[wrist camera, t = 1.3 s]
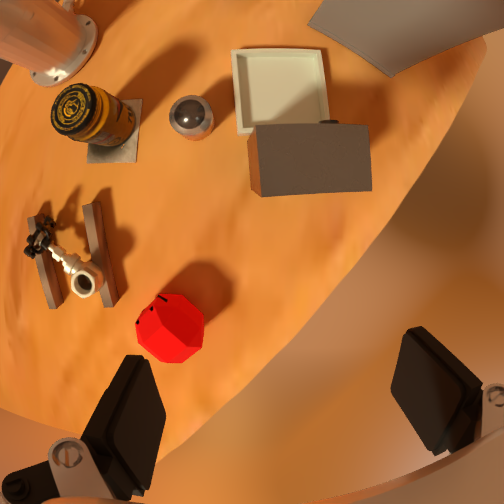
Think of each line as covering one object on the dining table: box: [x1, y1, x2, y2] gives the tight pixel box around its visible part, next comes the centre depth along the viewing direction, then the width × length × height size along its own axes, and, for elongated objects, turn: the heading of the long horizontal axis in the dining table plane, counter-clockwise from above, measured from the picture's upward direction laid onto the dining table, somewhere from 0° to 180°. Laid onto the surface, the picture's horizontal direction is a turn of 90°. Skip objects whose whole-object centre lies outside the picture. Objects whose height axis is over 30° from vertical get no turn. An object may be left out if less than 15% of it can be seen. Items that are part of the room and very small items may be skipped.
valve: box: [24, 215, 104, 299], centre depth 32 cm, size 7×7×12 cm
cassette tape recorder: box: [308, 0, 504, 78], centre depth 17 cm, size 14×6×25 cm, turn 63°
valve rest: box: [27, 202, 119, 309], centre depth 34 cm, size 14×12×2 cm
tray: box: [231, 48, 330, 136], centre depth 30 cm, size 11×11×2 cm
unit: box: [247, 120, 372, 197], centre depth 28 cm, size 7×10×12 cm
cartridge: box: [169, 95, 215, 141], centre depth 29 cm, size 4×4×6 cm
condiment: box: [51, 83, 143, 163], centre depth 25 cm, size 7×8×12 cm
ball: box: [135, 294, 204, 363], centre depth 35 cm, size 8×8×8 cm
